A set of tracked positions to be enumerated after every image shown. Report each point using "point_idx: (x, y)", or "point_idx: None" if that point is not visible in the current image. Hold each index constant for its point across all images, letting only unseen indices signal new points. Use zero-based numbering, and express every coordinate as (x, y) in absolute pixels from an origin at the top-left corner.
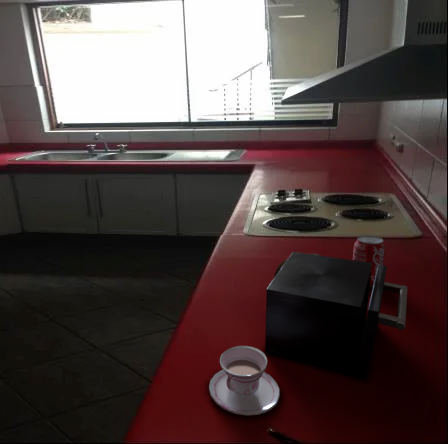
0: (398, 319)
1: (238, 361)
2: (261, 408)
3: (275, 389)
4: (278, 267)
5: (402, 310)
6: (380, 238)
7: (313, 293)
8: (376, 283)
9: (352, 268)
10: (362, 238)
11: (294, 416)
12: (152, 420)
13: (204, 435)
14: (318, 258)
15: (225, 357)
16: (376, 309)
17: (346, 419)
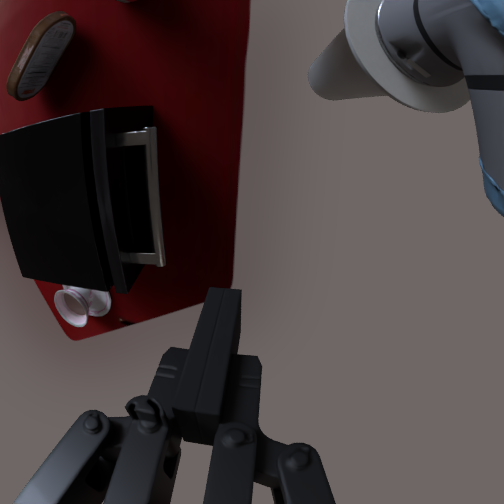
0: (154, 259)
1: (66, 293)
2: (105, 306)
3: None
4: (9, 94)
5: (154, 230)
6: None
7: (55, 272)
8: (100, 204)
9: (59, 160)
10: None
11: (127, 304)
12: (67, 329)
13: (94, 332)
14: (17, 144)
15: (58, 302)
16: (123, 289)
17: (159, 296)
